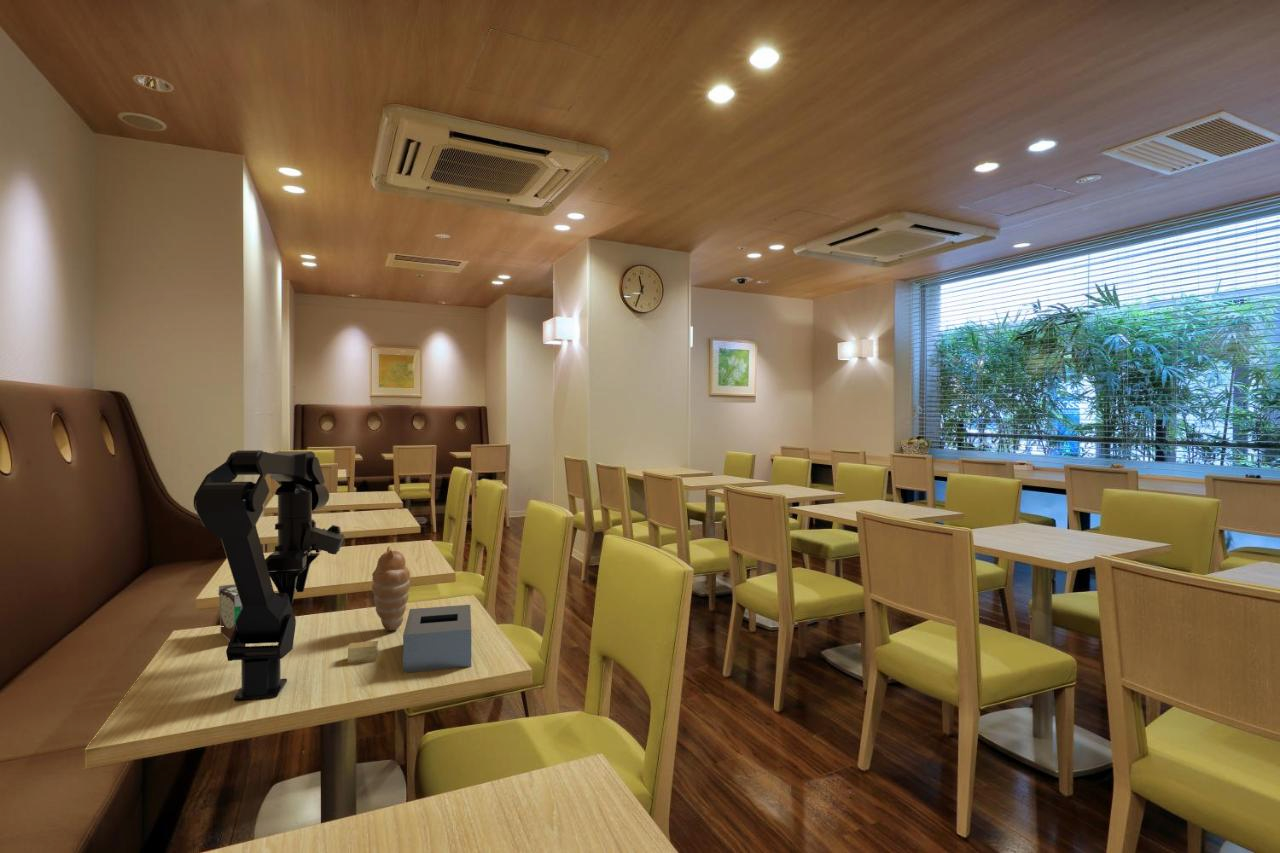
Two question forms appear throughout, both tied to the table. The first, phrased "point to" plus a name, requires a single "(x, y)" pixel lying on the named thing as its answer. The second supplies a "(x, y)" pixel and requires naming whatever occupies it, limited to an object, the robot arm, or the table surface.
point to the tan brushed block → (362, 652)
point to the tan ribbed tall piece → (391, 588)
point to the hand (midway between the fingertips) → (294, 598)
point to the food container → (229, 609)
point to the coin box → (437, 638)
